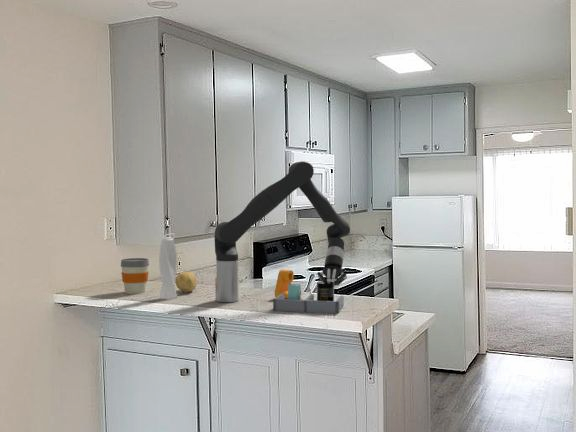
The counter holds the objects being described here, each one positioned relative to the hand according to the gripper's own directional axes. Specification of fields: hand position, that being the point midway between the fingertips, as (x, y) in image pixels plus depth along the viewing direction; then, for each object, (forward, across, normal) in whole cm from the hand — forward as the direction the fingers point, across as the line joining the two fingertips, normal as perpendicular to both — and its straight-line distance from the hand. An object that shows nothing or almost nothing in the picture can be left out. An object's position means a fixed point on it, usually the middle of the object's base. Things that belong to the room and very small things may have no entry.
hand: (329, 292), depth 256 cm
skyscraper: (+6, -70, +1) cm, 70 cm away
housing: (+12, -6, -6) cm, 15 cm away
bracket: (-4, -20, +10) cm, 23 cm away
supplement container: (+11, 0, -5) cm, 12 cm away
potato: (-6, -68, +13) cm, 70 cm away
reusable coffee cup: (-2, -91, +8) cm, 92 cm away
